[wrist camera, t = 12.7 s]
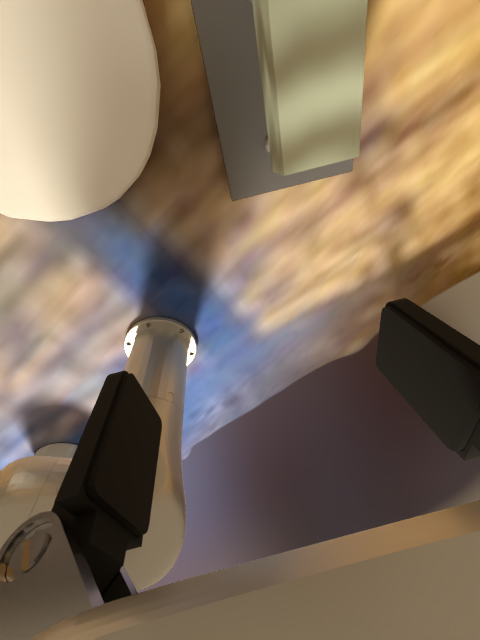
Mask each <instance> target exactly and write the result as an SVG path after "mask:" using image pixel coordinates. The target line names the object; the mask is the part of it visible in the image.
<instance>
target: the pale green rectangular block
mask: <svg viewBox="0 0 480 640" xmlns="http://www.w3.org/2000/svg"><path fill="white" fill-rule="evenodd" d="M252 5H253V14H254V23H255V31H256V40H257V48H258V57H259V65H260V74H261V82H262V91H263V99H264V108H265V116H266V125H267V133H268V142H269V151H270V159H271V168H272V172H275V173H278V174H281V175H284V176H285V175H289V174H293V173H297V172H301V171H305V170H309V169H313V168H317V167H321V166H325V165H329V164H333V163H336V162H340V161H344V160H348V159H352V158H356V157H359V148H360V130H361V112H362V94H363V77H364V59H365V41H366V23H367V5H368V0H252Z"/></svg>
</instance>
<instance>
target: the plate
mask: <svg viewBox="0 0 480 640" xmlns="http://www.w3.org/2000/svg"><path fill="white" fill-rule="evenodd" d="M160 89H161V85H160V76H159V67H158V58H157V50H156V47H155V43H154V39H153V36H152V32H151V29H150V25H149V22H148V18H147V14H146V11H145V7H144V4H143V0H0V213H1V214H3V215H6V216H8V217H10V218H20V219H29V220H38V221H48V222H53V221H64V220H72V219H75V218H78V217H81V216H84V215H87V214H90V213H93V212H96V211H99V210H102V209H104V208H106V207H107V206H109V205H110V204H112V203H113V202H115V201H116V200H118V199H119V198H121V197H122V195H123V194H124V193H125V192H126V191H127V190H128V189H129V187H130V186H131V185H132V184H133V183H134V182H135V181H136V180H137V178H138V177H139V176H140V175H141V173H142V171H143V169H144V167H145V165H146V163H147V161H148V159H149V157H150V155H151V151H152V147H153V144H154V140H155V136H156V133H157V129H158V117H159V103H160Z"/></svg>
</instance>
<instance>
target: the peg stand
mask: <svg viewBox="0 0 480 640" xmlns="http://www.w3.org/2000/svg"><path fill="white" fill-rule="evenodd" d="M191 4H192V9H193V14H194V19H195V24H196V29H197V34H198V38H199V43H200V48H201V53H202V58H203V63H204V67H205V72H206V77H207V82H208V87H209V92H210V97H211V101H212V106H213V111H214V116H215V121H216V126H217V130H218V135H219V140H220V145H221V150H222V155H223V160H224V164H225V169H226V174H227V179H228V184H229V189H230V193H231V198H232V201H235V200H239V199H243V198H247V197H251V196H255V195H259V194H263V193H267V192H271V191H275V190H279V189H283V188H287V187H291V186H295V185H299V184H303V183H307V182H311V181H315V180H319V179H323V178H327V177H331V176H335V175H339V174H343V173H347V172H351V171H352V169H353V158H352V159H348V160H344V161H340V162H336V163H333V164H329V165H325V166H321V167H317V168H313V169H309V170H305V171H301V172H297V173H293V174H289V175H285V176H284V175H281V174H278V173H275V172H272V168H271V159H270V151H269V142H268V133H267V125H266V116H265V108H264V99H263V91H262V82H261V74H260V65H259V57H258V48H257V40H256V31H255V23H254V14H253V5H252V0H191Z"/></svg>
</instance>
